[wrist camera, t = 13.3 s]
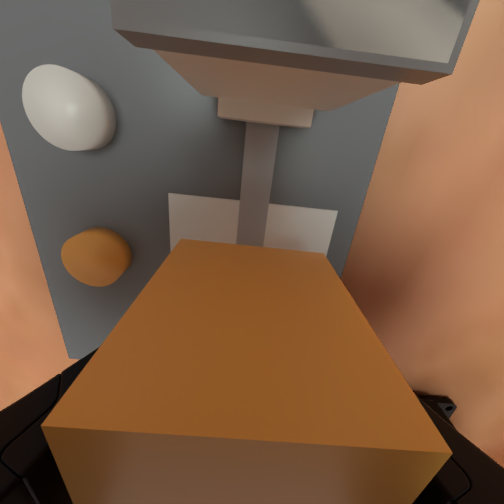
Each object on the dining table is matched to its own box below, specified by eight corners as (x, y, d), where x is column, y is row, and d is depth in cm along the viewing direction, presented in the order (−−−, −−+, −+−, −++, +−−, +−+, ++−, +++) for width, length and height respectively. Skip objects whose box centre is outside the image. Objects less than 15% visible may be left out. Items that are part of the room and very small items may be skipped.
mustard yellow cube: (323, 253, 8) (452, 453, 3) (297, 356, 11) (345, 586, 5) (181, 238, 8) (39, 426, 3) (182, 346, 10) (103, 576, 5)
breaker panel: (306, 356, 16) (315, 392, 13) (85, 338, 15) (56, 373, 13) (450, -170, 7) (547, -323, 5) (-58, -262, 6) (-231, -488, 4)
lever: (322, 130, 8) (438, 109, 3) (203, 116, 8) (117, 69, 3) (345, 20, 7) (596, -314, 2) (205, 0, 7) (65, -427, 2)
